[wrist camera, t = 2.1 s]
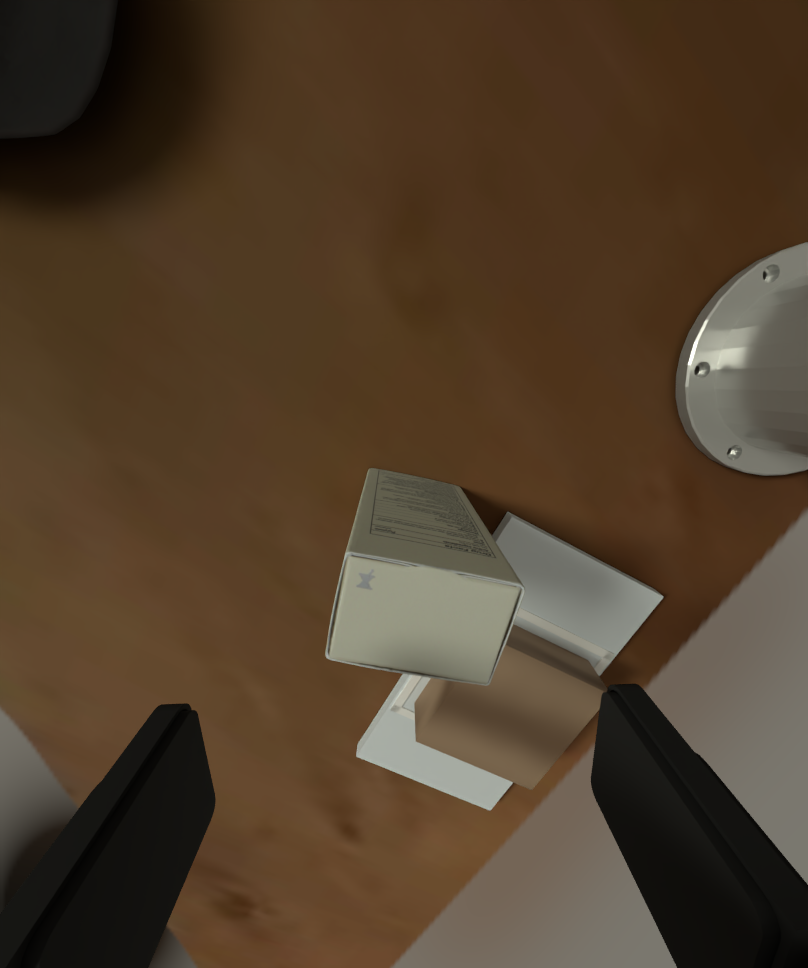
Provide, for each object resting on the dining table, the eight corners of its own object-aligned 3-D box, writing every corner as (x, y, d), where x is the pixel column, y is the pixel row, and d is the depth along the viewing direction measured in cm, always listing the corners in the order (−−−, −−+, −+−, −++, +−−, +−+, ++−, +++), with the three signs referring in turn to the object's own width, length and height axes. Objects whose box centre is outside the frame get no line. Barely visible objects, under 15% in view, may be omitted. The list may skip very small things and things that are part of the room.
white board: (507, 511, 24) (512, 517, 23) (654, 588, 26) (665, 597, 25) (357, 744, 29) (355, 757, 28) (487, 797, 31) (490, 812, 30)
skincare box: (355, 527, 25) (312, 661, 13) (368, 464, 23) (334, 548, 12) (450, 547, 25) (492, 695, 13) (467, 486, 24) (530, 588, 12)
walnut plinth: (478, 607, 25) (488, 636, 22) (588, 660, 26) (611, 694, 23) (414, 703, 27) (415, 741, 24) (518, 748, 28) (531, 790, 25)
